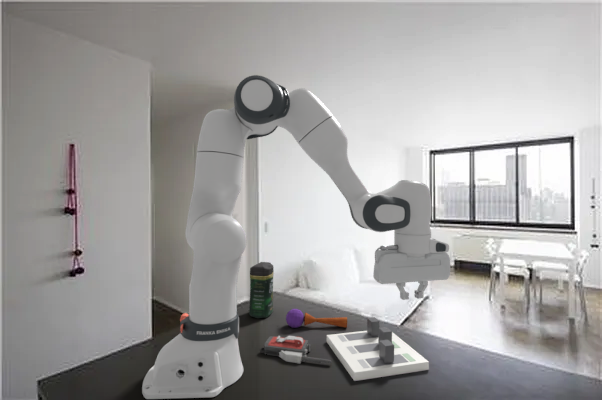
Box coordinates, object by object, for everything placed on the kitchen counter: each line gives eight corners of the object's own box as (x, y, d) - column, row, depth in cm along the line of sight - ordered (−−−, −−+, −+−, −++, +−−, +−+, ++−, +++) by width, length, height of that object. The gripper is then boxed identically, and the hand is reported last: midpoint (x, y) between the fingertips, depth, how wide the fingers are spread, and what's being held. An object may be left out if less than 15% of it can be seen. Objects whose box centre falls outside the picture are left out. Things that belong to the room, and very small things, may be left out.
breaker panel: (354, 381, 73) (354, 372, 73) (326, 341, 92) (326, 334, 92) (428, 369, 78) (428, 361, 78) (387, 334, 97) (387, 328, 97)
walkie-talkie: (256, 359, 83) (331, 369, 78) (256, 343, 83) (331, 352, 78) (267, 344, 92) (335, 352, 87) (267, 329, 92) (335, 336, 87)
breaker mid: (383, 347, 84) (384, 332, 84) (378, 342, 87) (378, 327, 87) (391, 346, 85) (391, 331, 85) (386, 341, 88) (386, 326, 87)
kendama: (348, 319, 99) (286, 314, 99) (346, 336, 101) (284, 331, 101) (346, 309, 105) (287, 304, 105) (344, 325, 106) (285, 320, 106)
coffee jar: (268, 320, 108) (268, 266, 108) (246, 318, 110) (246, 265, 109) (276, 310, 117) (276, 260, 117) (256, 308, 119) (256, 259, 119)
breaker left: (371, 336, 91) (371, 322, 91) (367, 331, 94) (367, 318, 94) (379, 335, 91) (379, 321, 91) (374, 331, 94) (374, 317, 94)
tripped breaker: (385, 363, 76) (385, 346, 76) (379, 356, 79) (379, 340, 79) (394, 361, 77) (394, 345, 77) (387, 355, 80) (387, 339, 80)
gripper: (381, 247, 74) (380, 306, 74) (454, 245, 79) (454, 299, 79) (369, 243, 80) (368, 297, 80) (438, 241, 85) (437, 291, 85)
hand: (411, 298), depth 80 cm, fingers open, 3 cm apart
